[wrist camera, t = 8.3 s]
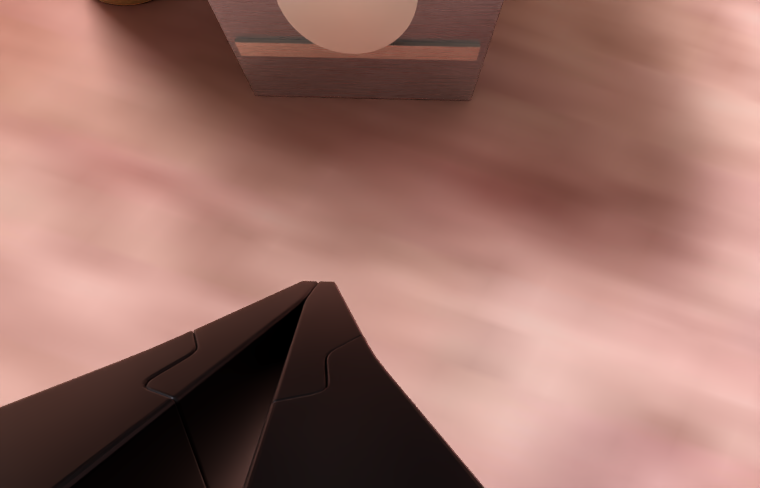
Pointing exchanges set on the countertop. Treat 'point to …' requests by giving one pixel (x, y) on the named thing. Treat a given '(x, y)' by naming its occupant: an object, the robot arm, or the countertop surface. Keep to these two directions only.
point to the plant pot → (124, 2)
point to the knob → (350, 22)
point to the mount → (366, 70)
